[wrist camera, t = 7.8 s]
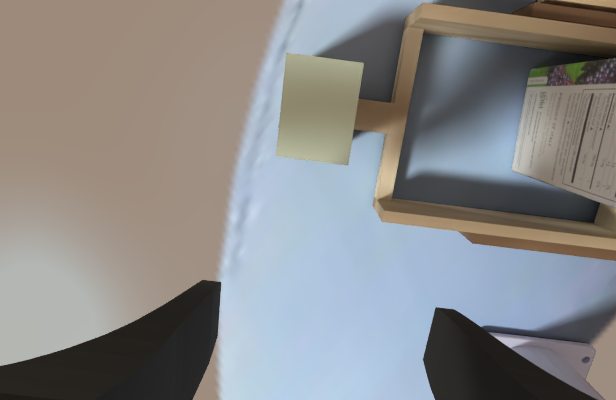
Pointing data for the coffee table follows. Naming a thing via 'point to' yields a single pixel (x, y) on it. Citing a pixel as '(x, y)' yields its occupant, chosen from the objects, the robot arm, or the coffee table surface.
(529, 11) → the lane board
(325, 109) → the wooden slotted tray
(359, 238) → the coffee table surface
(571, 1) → the wooden bar
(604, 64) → the syrup box
